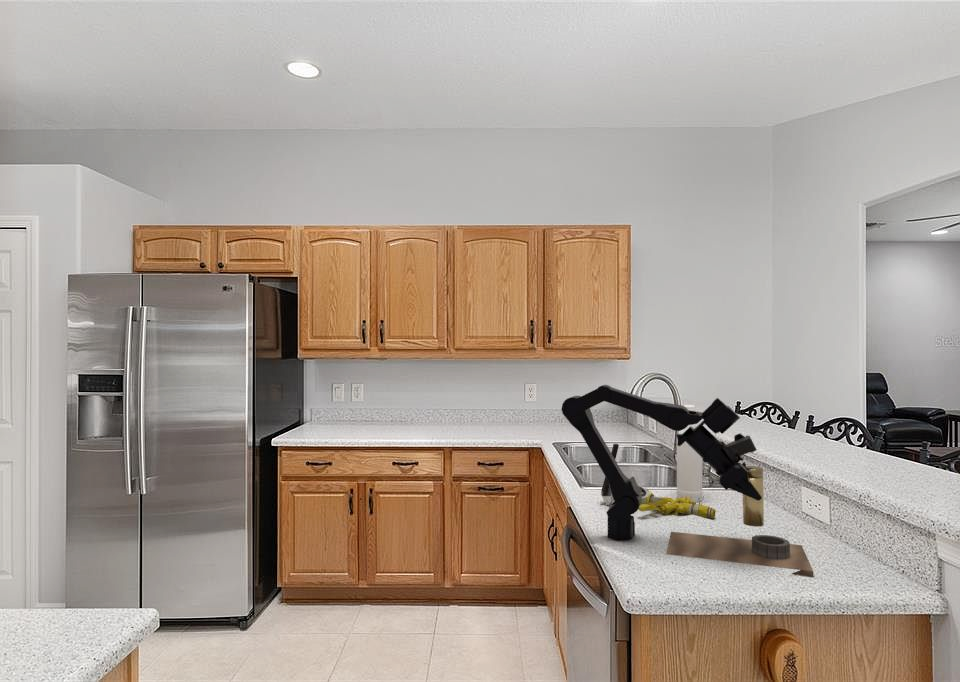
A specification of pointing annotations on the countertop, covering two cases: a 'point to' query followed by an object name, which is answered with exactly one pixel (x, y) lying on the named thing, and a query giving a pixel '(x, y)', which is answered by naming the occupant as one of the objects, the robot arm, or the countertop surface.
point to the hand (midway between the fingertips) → (759, 496)
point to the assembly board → (742, 550)
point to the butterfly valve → (607, 491)
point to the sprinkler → (677, 506)
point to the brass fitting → (753, 507)
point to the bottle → (689, 469)
